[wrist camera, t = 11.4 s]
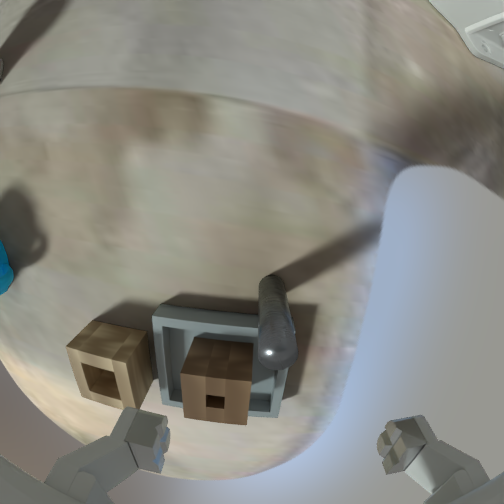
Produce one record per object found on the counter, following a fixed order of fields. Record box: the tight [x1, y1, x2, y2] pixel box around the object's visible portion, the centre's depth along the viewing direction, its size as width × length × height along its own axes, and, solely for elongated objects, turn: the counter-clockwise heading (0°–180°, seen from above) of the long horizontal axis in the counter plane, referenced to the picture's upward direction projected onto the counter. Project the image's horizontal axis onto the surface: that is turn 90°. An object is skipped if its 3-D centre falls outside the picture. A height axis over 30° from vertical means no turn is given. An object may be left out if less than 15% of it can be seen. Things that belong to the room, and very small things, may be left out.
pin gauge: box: [258, 275, 298, 370], centre depth 18 cm, size 2×2×9 cm
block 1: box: [66, 320, 153, 410], centre depth 22 cm, size 6×6×5 cm
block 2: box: [180, 337, 253, 425], centre depth 21 cm, size 5×5×5 cm
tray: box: [152, 304, 295, 418], centre depth 23 cm, size 11×10×2 cm
